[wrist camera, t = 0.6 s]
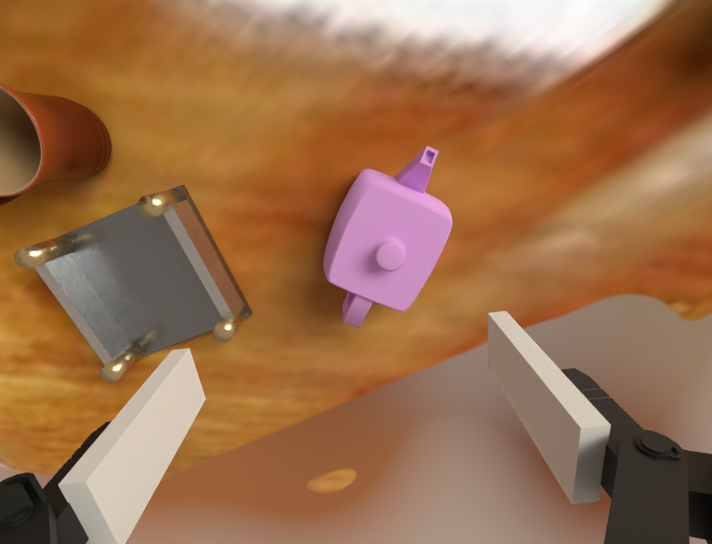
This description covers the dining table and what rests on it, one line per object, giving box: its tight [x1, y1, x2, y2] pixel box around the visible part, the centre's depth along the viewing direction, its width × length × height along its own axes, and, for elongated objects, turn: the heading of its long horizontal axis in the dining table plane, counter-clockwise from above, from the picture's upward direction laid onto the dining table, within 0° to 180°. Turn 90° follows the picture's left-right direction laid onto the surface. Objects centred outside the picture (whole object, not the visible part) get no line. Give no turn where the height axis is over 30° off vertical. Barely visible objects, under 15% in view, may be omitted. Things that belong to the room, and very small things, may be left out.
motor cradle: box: [14, 185, 252, 383], centre depth 39 cm, size 16×16×6 cm
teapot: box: [323, 146, 452, 328], centre depth 35 cm, size 18×10×10 cm, turn 156°
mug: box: [0, 83, 111, 206], centre depth 32 cm, size 12×9×10 cm
